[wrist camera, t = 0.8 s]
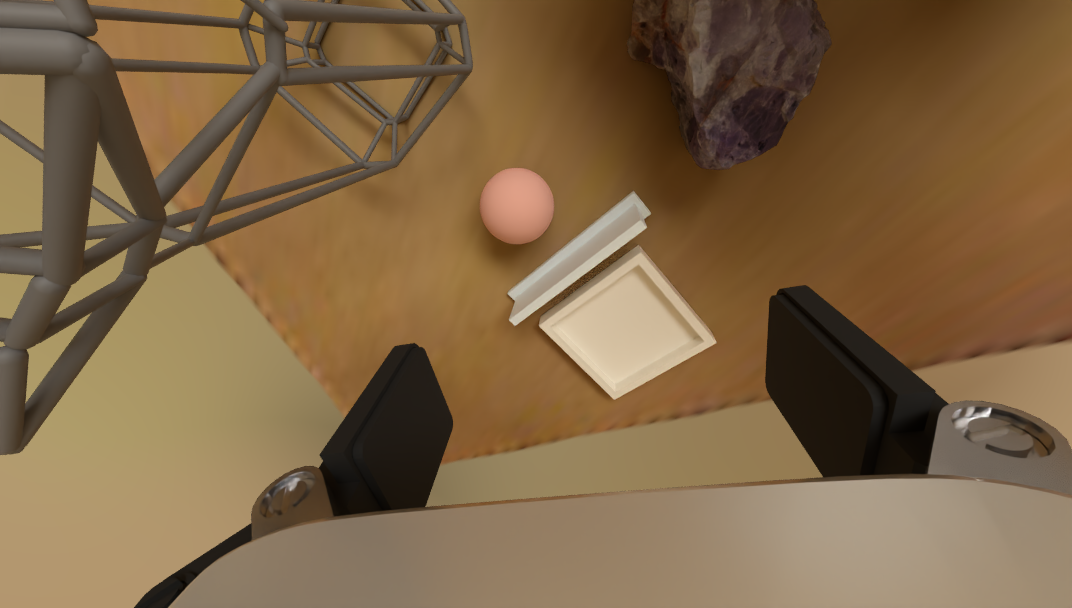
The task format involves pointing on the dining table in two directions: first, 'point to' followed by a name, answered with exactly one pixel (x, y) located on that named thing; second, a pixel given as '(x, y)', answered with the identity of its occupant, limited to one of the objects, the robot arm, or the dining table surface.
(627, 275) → the dish
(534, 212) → the ball
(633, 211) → the divider wall
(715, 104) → the rock
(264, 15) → the geometric lantern
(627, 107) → the dining table surface
